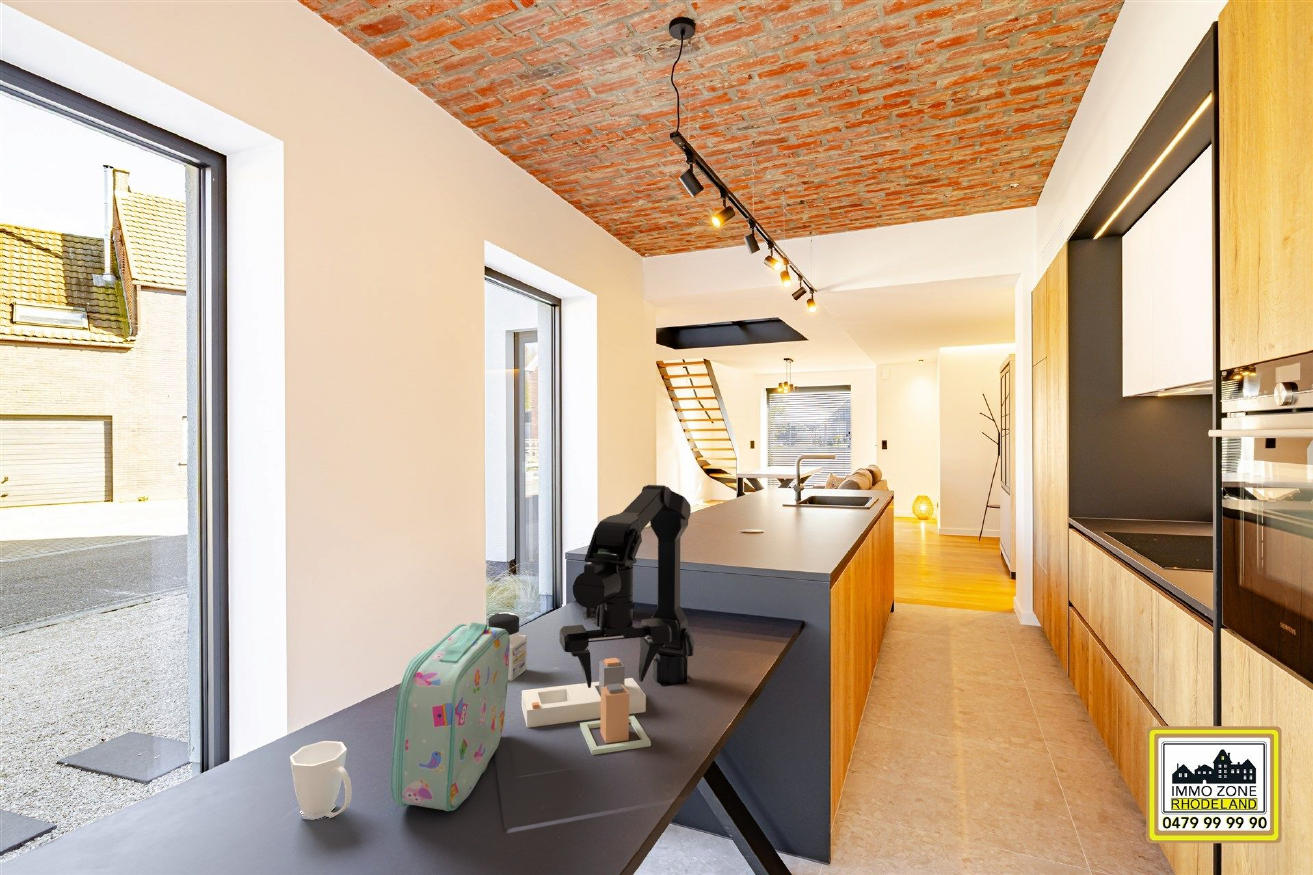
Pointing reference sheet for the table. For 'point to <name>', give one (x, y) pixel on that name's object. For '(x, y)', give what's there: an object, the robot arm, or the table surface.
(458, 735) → the lunch box
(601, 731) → the plug
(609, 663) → the twin plug
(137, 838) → the table surface
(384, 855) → the table surface
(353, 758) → the table surface
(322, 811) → the cup
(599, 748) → the tray
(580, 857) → the table surface
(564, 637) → the robot arm
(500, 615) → the container
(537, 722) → the outlet strip
